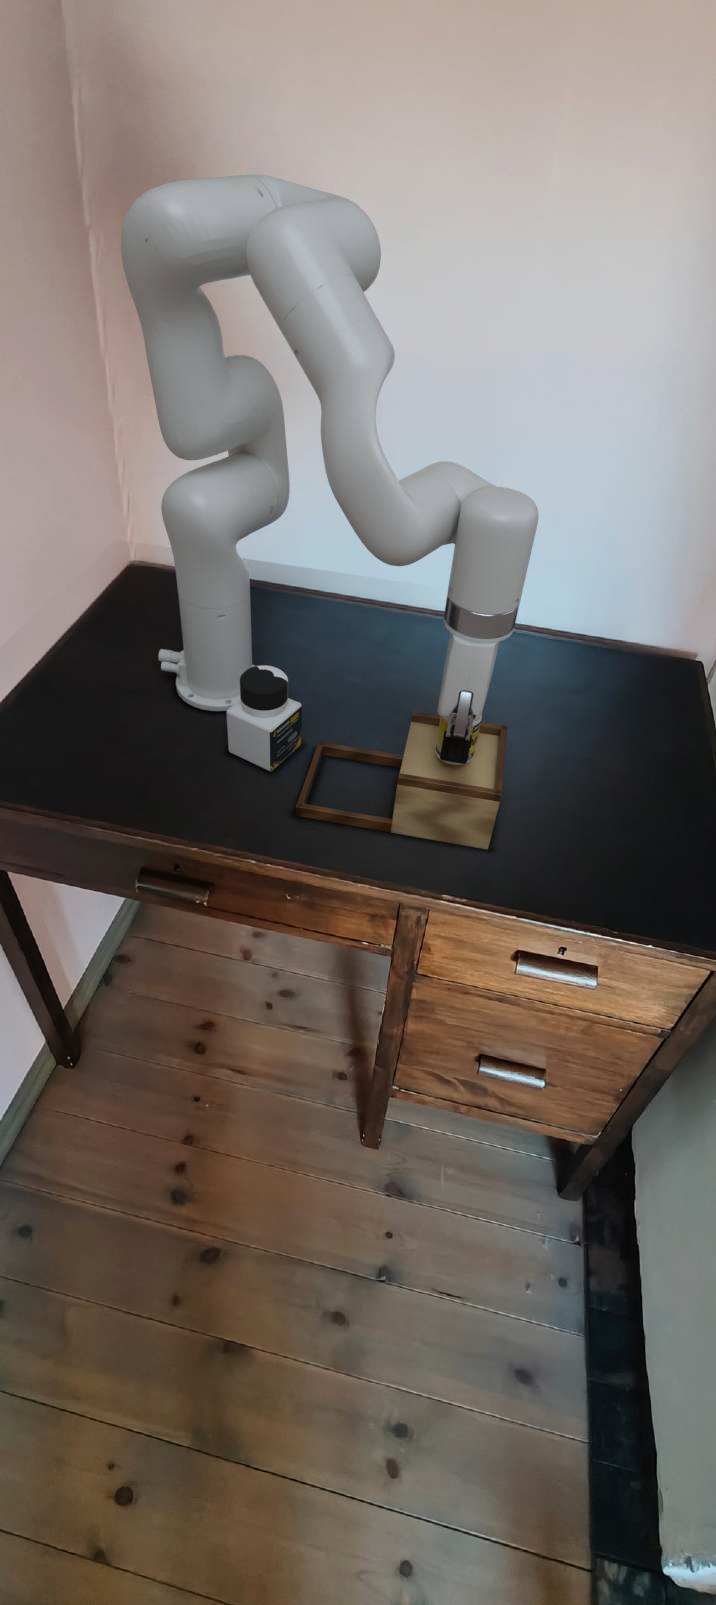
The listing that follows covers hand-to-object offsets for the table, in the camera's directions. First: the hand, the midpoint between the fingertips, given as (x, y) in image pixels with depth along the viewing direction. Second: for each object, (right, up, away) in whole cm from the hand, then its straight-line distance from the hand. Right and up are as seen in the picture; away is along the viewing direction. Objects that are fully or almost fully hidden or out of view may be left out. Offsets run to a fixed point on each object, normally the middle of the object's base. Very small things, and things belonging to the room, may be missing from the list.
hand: (455, 744), depth 99 cm
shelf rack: (-6, -6, +7) cm, 12 cm away
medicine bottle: (-24, 0, +13) cm, 27 cm away
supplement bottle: (0, -1, +1) cm, 2 cm away
